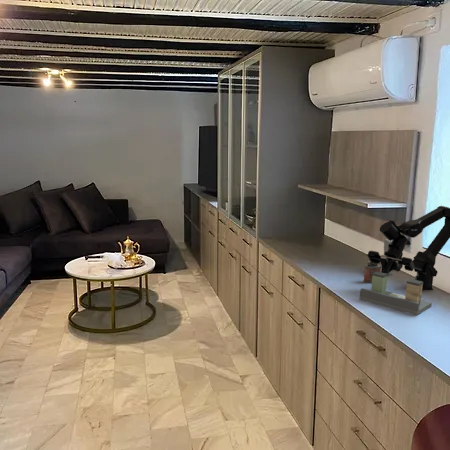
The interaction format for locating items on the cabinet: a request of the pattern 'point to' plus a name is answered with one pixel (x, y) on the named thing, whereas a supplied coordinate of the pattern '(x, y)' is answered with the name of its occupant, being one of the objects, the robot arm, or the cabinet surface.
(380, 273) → the sage block
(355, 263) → the cabinet surface
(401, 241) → the robot arm
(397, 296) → the switch board
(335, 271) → the cabinet surface
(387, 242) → the grey upright bar
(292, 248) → the cabinet surface
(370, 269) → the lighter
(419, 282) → the beech block
